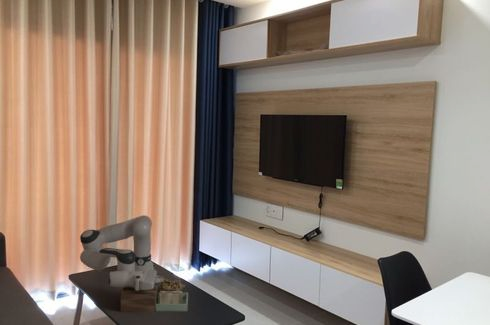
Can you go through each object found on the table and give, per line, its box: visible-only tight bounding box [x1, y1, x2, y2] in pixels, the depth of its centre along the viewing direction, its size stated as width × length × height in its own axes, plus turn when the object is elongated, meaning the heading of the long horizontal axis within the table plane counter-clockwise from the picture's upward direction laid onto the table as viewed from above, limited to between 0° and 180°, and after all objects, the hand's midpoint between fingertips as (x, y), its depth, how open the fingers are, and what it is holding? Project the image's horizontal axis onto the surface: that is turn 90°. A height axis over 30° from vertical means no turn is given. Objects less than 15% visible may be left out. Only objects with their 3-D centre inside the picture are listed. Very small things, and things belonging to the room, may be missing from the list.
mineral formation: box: [158, 278, 186, 293], centre depth 252 cm, size 8×13×15 cm
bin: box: [155, 292, 189, 313], centre depth 236 cm, size 16×17×4 cm
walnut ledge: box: [120, 282, 159, 313], centre depth 233 cm, size 16×18×10 cm
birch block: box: [159, 290, 183, 304], centre depth 237 cm, size 5×6×12 cm
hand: (163, 279), depth 233 cm, fingers closed
